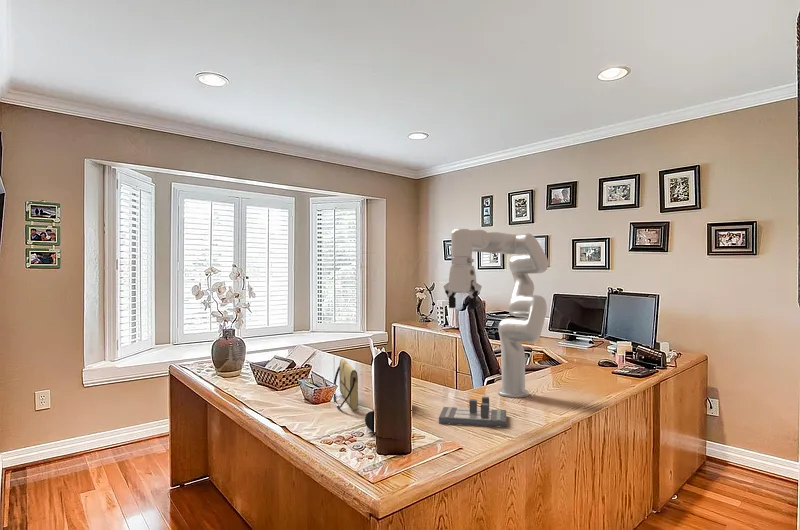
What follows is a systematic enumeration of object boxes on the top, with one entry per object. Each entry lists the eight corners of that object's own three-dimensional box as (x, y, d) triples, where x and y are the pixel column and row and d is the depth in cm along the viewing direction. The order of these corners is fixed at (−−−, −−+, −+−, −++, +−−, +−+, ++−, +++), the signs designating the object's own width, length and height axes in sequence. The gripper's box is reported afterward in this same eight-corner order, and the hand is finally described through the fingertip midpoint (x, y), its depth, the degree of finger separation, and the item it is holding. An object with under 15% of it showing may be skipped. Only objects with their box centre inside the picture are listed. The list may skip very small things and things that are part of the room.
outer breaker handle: (481, 415, 155) (481, 403, 155) (488, 415, 155) (488, 403, 155) (480, 417, 153) (480, 404, 153) (488, 417, 153) (488, 405, 153)
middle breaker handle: (470, 410, 161) (469, 399, 161) (477, 411, 160) (476, 399, 160) (469, 412, 158) (469, 400, 159) (476, 413, 158) (476, 401, 158)
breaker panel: (443, 412, 168) (443, 406, 168) (506, 415, 163) (506, 409, 163) (438, 423, 155) (438, 416, 155) (506, 427, 150) (506, 420, 151)
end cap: (382, 423, 156) (382, 402, 157) (400, 426, 153) (400, 405, 153) (364, 431, 148) (364, 410, 148) (383, 435, 144) (382, 413, 144)
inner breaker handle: (482, 407, 164) (482, 396, 164) (489, 408, 164) (489, 396, 164) (482, 409, 162) (481, 398, 162) (489, 410, 161) (488, 398, 162)
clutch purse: (329, 394, 196) (329, 358, 197) (345, 393, 198) (345, 357, 199) (340, 413, 168) (340, 372, 168) (359, 412, 170) (359, 370, 170)
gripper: (486, 261, 169) (487, 309, 169) (450, 263, 182) (451, 307, 181) (473, 261, 164) (474, 310, 164) (437, 262, 177) (438, 308, 176)
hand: (462, 308), depth 172 cm, fingers open, 9 cm apart
